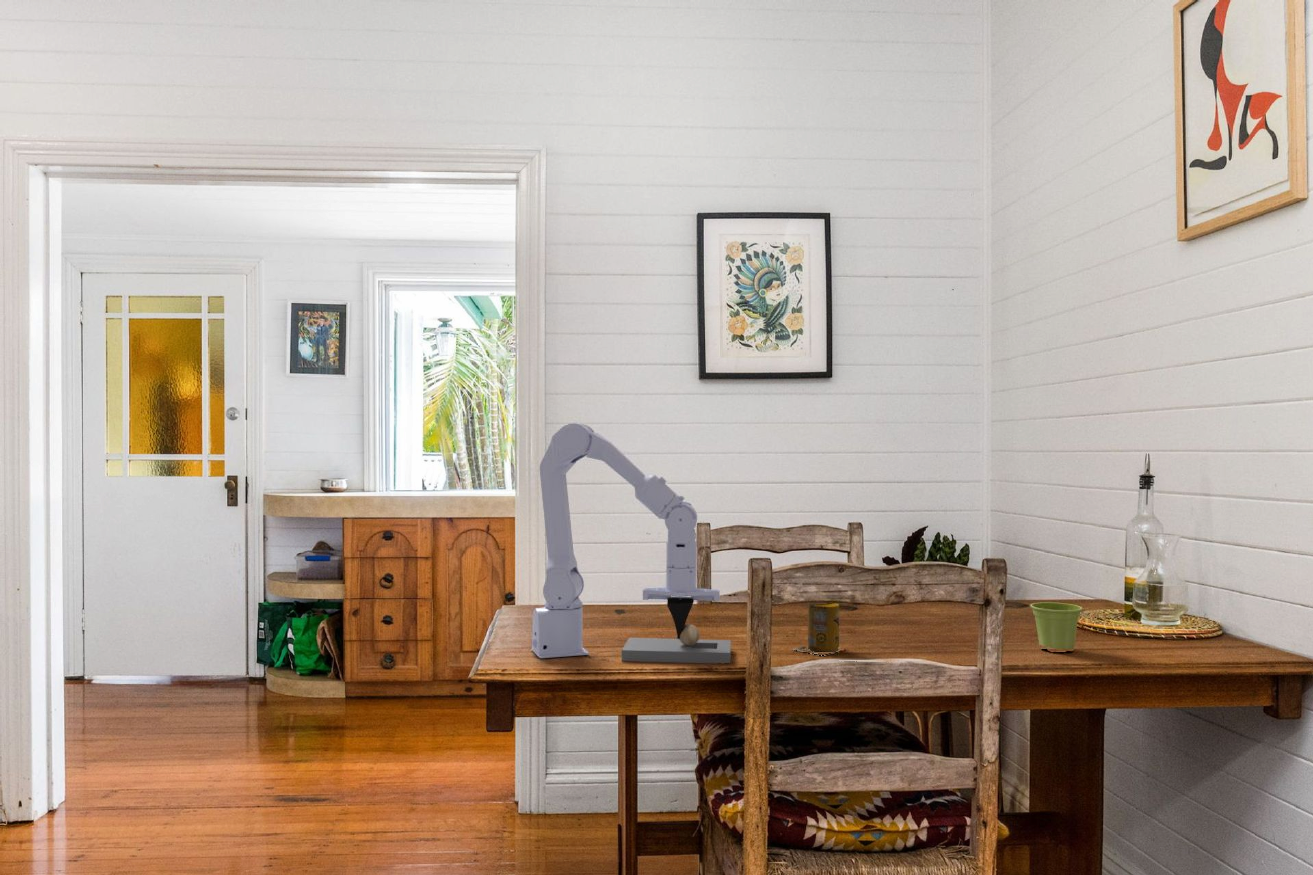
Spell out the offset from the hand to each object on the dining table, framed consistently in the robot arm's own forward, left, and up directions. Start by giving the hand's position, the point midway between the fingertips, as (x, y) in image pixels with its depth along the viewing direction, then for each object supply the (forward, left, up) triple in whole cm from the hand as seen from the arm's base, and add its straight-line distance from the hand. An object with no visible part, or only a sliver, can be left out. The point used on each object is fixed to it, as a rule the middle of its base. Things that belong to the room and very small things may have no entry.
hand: (680, 638), depth 171 cm
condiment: (+28, -4, -4) cm, 28 cm away
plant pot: (+72, -19, -4) cm, 74 cm away
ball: (+1, -1, +1) cm, 2 cm away
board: (0, 0, -3) cm, 3 cm away
